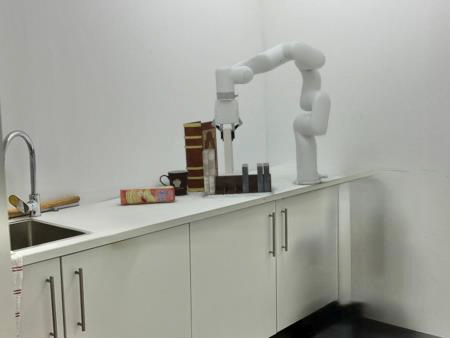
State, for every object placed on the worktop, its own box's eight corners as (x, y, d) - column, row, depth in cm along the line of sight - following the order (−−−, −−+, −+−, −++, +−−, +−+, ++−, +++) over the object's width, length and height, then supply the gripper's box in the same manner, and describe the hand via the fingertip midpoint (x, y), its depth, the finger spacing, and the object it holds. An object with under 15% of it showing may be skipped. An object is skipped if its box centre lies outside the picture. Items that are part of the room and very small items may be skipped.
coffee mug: (193, 193, 269) (192, 170, 268) (181, 196, 261) (180, 173, 260) (171, 192, 274) (170, 169, 272) (159, 195, 266) (157, 172, 265)
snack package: (175, 199, 254) (174, 183, 253) (174, 202, 247) (173, 185, 247) (121, 203, 251) (120, 186, 250) (119, 206, 244) (118, 189, 244)
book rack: (271, 189, 272) (269, 146, 270) (272, 194, 258) (270, 149, 256) (207, 192, 270) (204, 148, 268) (204, 197, 256) (202, 152, 254)
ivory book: (233, 170, 268) (231, 128, 266) (232, 173, 257) (230, 129, 255) (226, 170, 268) (224, 128, 266) (225, 173, 257) (223, 130, 255)
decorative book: (202, 191, 272) (198, 123, 268) (185, 191, 274) (181, 123, 270) (219, 183, 294) (215, 120, 290) (203, 183, 296) (199, 120, 292)
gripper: (245, 96, 263) (247, 139, 265) (206, 97, 261) (209, 140, 264) (245, 96, 255) (247, 140, 257) (205, 97, 254) (207, 142, 256)
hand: (227, 140), depth 261 cm, fingers closed on ivory book, 3 cm apart
